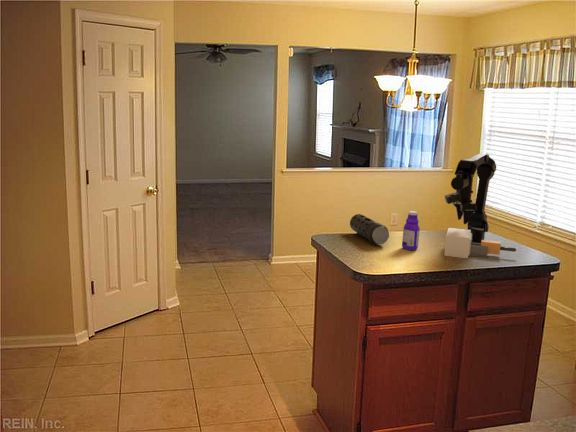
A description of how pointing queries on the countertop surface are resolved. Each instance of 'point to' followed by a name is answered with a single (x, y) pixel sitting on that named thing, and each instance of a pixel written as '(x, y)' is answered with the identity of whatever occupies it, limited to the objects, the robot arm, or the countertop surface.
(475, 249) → the socket box
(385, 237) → the muzzle brake
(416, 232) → the bottle
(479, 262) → the countertop surface
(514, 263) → the countertop surface
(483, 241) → the plug
